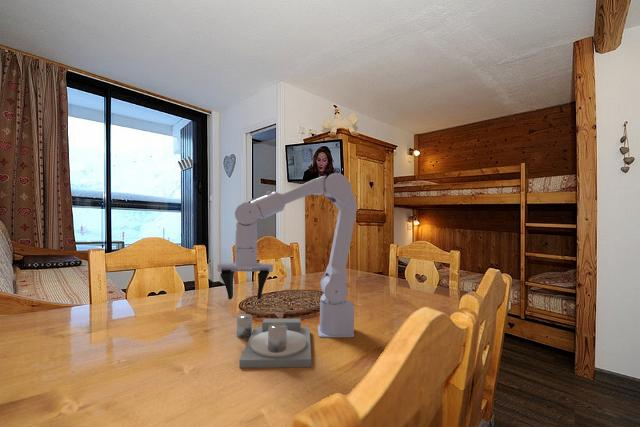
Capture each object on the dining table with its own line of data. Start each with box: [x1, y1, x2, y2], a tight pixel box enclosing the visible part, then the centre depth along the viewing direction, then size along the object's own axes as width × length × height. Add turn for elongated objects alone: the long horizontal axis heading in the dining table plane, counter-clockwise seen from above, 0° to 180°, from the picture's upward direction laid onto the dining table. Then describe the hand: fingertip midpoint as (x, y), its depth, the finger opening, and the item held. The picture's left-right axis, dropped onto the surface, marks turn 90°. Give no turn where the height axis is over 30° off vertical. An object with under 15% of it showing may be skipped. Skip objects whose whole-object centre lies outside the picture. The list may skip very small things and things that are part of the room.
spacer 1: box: [236, 313, 253, 339], centre depth 78 cm, size 4×4×5 cm
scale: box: [238, 318, 312, 369], centre depth 71 cm, size 15×19×4 cm
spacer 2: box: [268, 323, 287, 353], centre depth 64 cm, size 4×4×5 cm
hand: (245, 298), depth 78 cm, fingers open, 7 cm apart
